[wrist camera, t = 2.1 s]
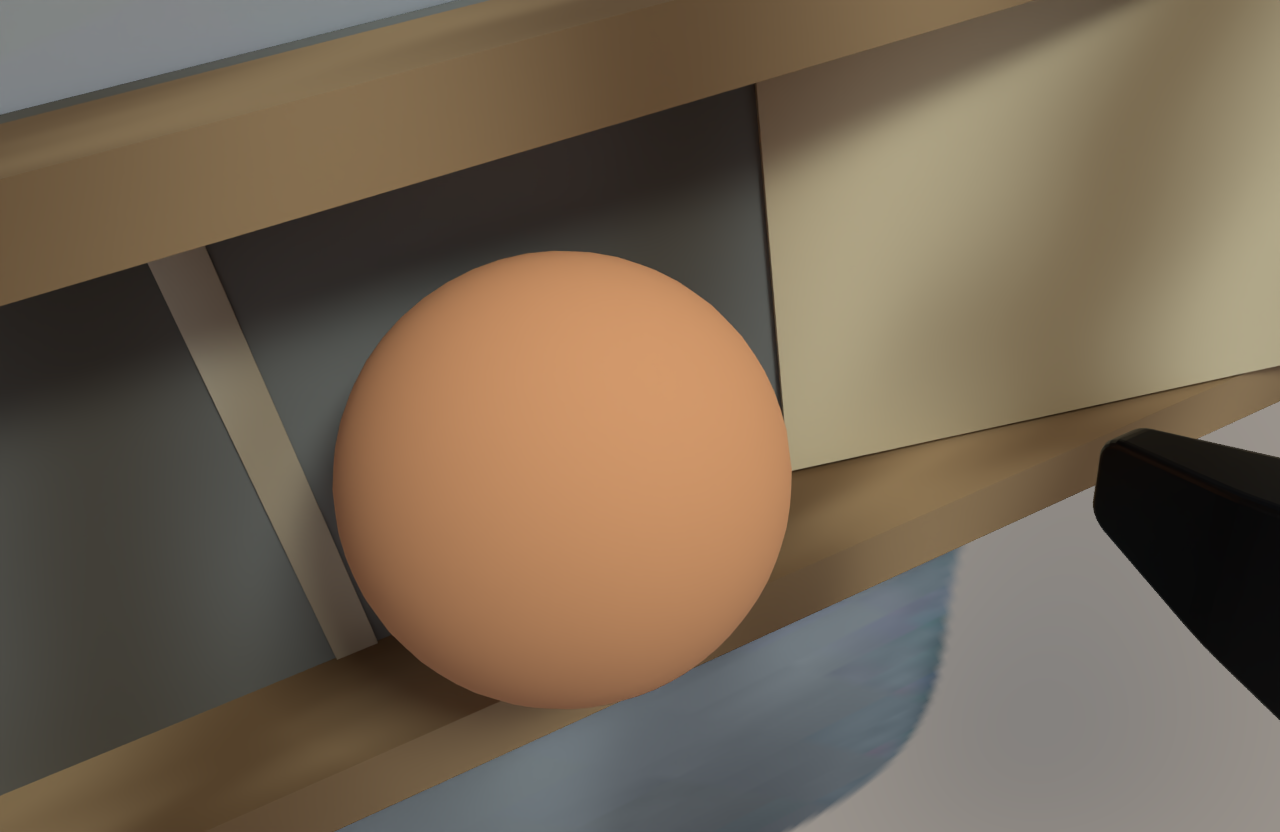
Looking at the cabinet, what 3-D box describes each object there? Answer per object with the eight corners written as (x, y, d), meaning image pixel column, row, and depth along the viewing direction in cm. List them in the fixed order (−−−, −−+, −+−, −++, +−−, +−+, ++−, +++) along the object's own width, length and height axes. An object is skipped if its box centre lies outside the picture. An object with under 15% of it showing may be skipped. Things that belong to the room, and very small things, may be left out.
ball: (554, 105, 12) (768, 257, 8) (728, 385, 15) (943, 593, 11) (208, 366, 12) (249, 653, 8) (458, 593, 15) (578, 880, 11)
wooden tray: (1412, -244, 15) (1822, -260, 11) (1284, 283, 20) (1538, 388, 17) (-892, 330, 8) (-1689, 740, 5) (-211, 904, 13) (-337, 1314, 10)
